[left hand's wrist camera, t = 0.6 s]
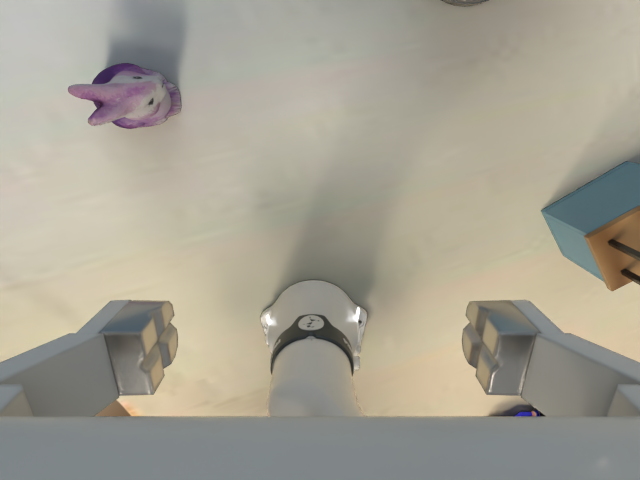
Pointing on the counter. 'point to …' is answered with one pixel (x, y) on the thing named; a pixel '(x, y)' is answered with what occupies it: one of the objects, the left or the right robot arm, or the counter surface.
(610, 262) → the lid
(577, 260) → the chest
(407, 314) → the counter surface
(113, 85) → the figurine
